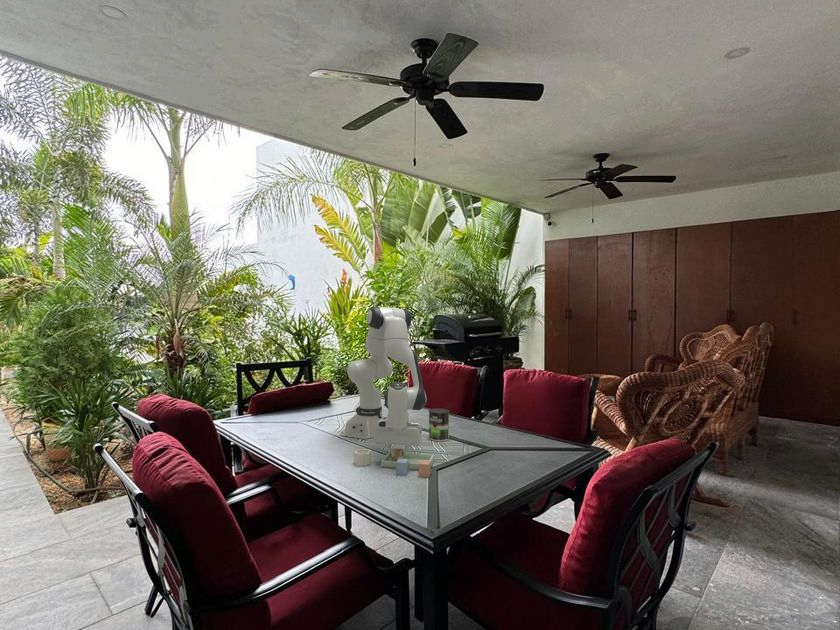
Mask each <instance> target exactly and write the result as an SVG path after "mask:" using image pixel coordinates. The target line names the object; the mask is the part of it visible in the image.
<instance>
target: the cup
mask: <svg viewBox="0 0 840 630" xmlns="http://www.w3.org/2000/svg"><path fill="white" fill-rule="evenodd" d="M353 453H354V454H353V457H354V458H353V459H354V462H353V463H354V465H355V466H356V467H366V466H370V465H371V464H372V450H370V449H369V448H360V449H355V451H354V452H353Z"/></svg>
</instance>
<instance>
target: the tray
mask: <svg viewBox="0 0 840 630" xmlns="http://www.w3.org/2000/svg"><path fill="white" fill-rule="evenodd" d="M404 459H409V470H408V471H419V462H420V461H421V460H423V461H431V467H432V466H433V464H434V462H435V454H427V453H425V454H424V453H413V452H407V455H406V456H404ZM380 468H385V469H396V462H395V461H392V454H389V451H388V452H387V454H385V456H384V457H383V458H382V459H381V461H380Z"/></svg>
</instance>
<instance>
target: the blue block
mask: <svg viewBox="0 0 840 630" xmlns="http://www.w3.org/2000/svg"><path fill="white" fill-rule="evenodd" d="M395 471H396V472H395V475H396V476H407V475H408V473H409V471H410V470H409V459H398V461H397V462H396V470H395Z"/></svg>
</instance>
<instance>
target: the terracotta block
mask: <svg viewBox="0 0 840 630" xmlns="http://www.w3.org/2000/svg"><path fill="white" fill-rule="evenodd" d="M431 468H432V466H431V461H423V460H421V461H420V462H419V470H418V477H422V478H430V475H431V473H432V472H431Z"/></svg>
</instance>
